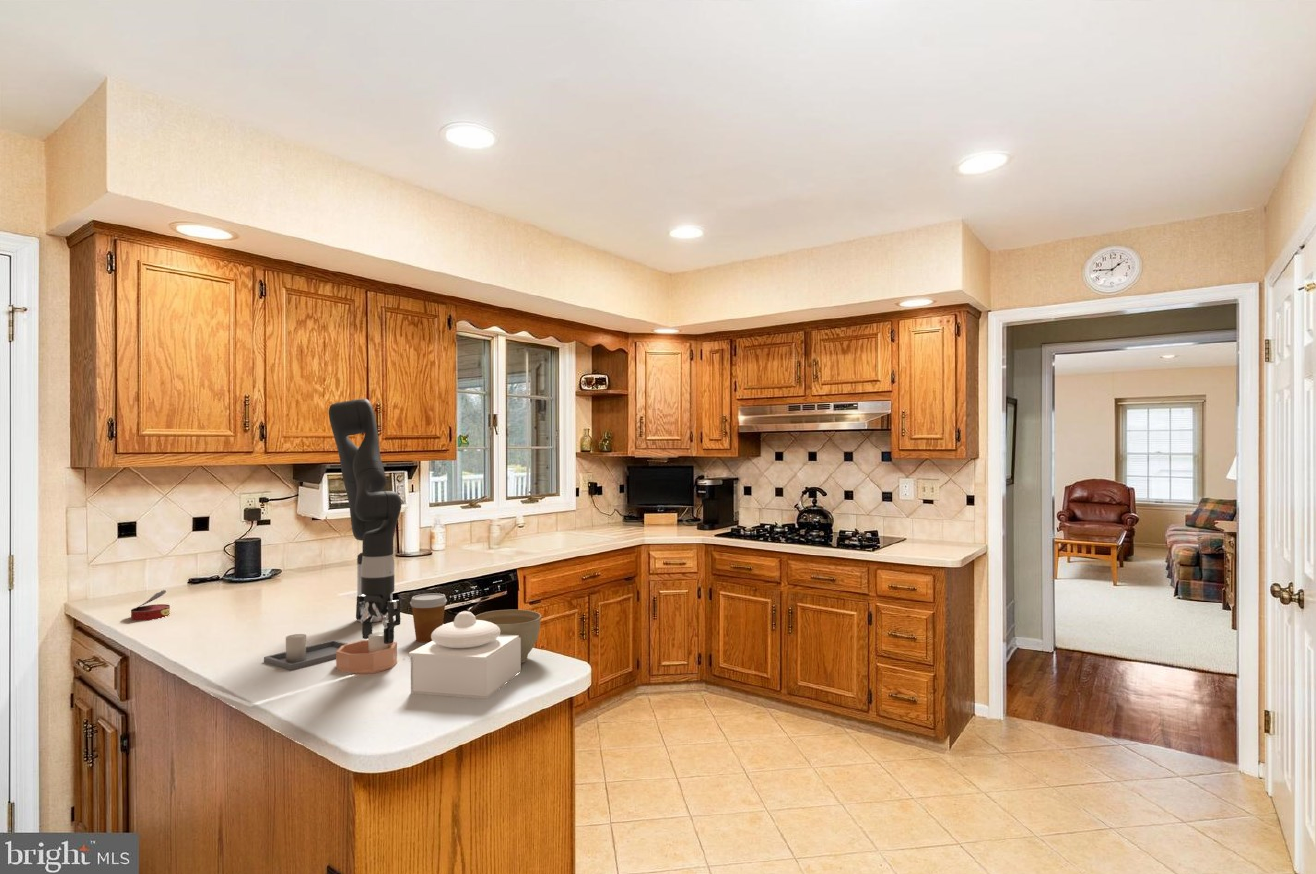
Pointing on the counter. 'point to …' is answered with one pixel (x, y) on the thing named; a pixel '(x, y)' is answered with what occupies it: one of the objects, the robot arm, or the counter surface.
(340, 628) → the counter surface
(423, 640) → the disposable coffee cup
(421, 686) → the white lidded box
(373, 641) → the white cylinder
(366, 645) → the terracotta bowl
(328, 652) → the parts tray
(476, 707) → the counter surface
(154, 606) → the canned food
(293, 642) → the grey cylinder
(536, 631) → the planter bowl
